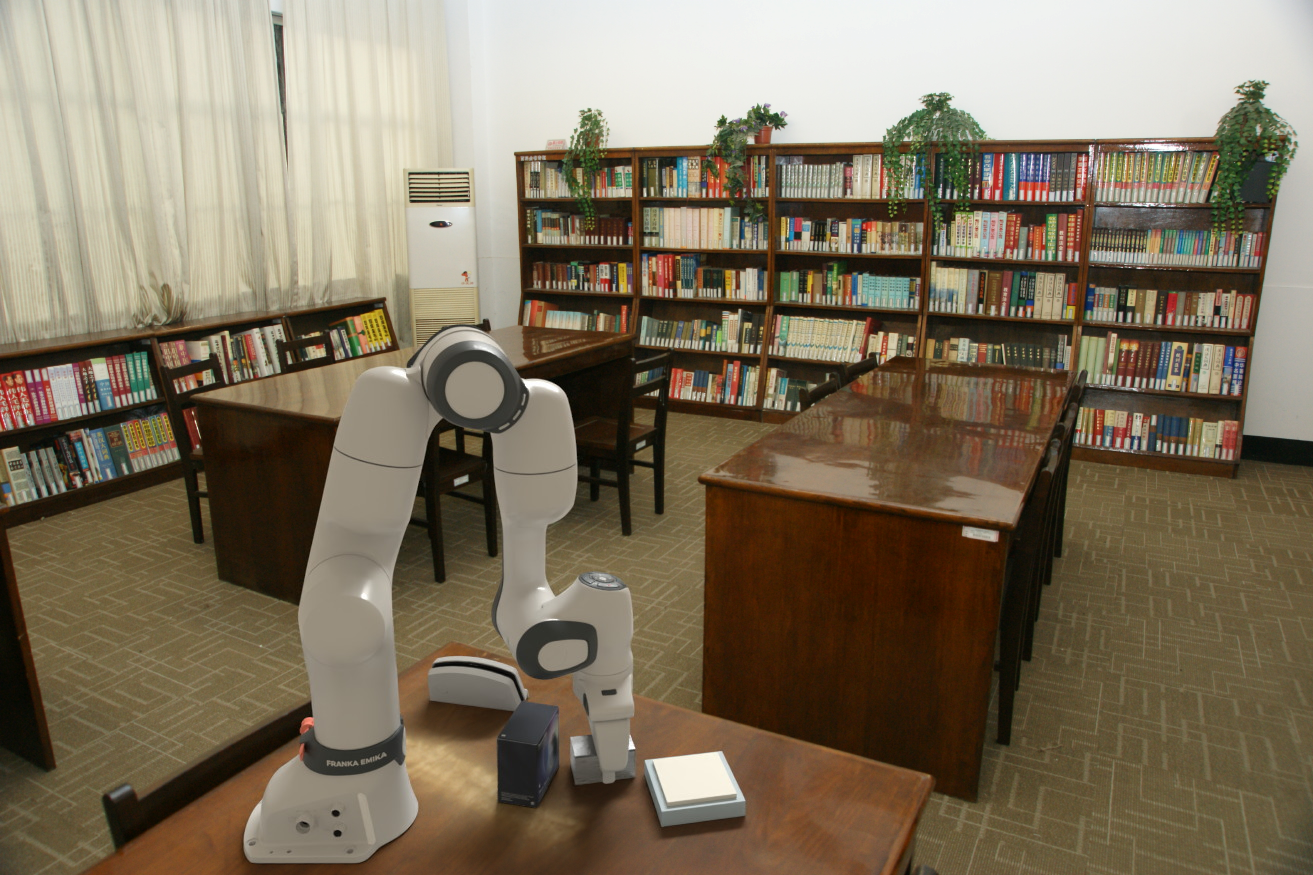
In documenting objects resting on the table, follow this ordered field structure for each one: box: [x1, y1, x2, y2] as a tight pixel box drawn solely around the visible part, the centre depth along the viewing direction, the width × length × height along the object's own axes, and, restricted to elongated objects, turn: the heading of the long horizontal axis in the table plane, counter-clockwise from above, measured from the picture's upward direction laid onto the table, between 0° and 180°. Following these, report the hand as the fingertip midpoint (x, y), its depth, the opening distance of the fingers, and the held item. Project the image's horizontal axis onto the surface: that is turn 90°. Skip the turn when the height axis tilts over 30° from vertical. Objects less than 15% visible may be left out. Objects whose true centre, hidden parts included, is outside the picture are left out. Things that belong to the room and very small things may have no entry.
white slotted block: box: [426, 655, 530, 712], centre depth 153 cm, size 17×5×10 cm, turn 78°
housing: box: [569, 734, 636, 786], centre depth 136 cm, size 9×5×5 cm, turn 103°
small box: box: [496, 700, 560, 809], centre depth 132 cm, size 11×6×10 cm, turn 168°
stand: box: [643, 750, 747, 828], centre depth 131 cm, size 12×12×3 cm
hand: (603, 760), depth 136 cm, fingers open, 8 cm apart
